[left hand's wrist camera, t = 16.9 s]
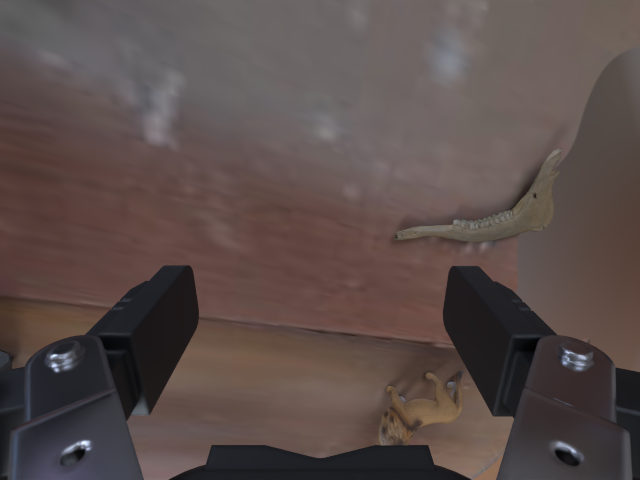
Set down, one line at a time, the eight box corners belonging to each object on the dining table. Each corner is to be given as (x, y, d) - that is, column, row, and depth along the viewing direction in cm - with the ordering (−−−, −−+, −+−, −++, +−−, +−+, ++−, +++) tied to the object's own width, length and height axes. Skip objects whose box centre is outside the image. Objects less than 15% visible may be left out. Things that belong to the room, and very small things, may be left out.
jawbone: (570, 207, 44) (582, 214, 42) (419, 283, 48) (424, 292, 46) (551, 144, 40) (563, 148, 38) (390, 232, 44) (393, 239, 42)
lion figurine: (380, 417, 56) (391, 473, 47) (364, 395, 54) (372, 449, 46) (467, 379, 53) (495, 432, 44) (453, 354, 51) (479, 404, 43)
